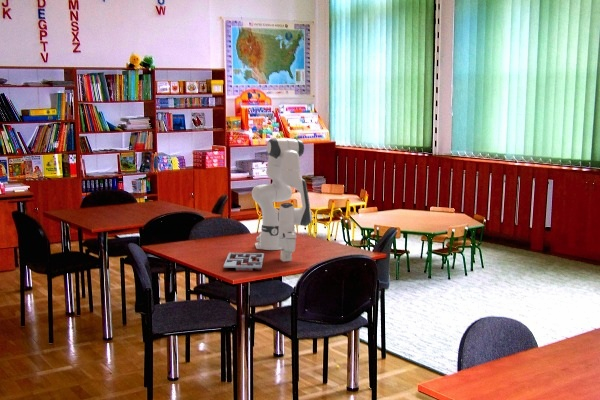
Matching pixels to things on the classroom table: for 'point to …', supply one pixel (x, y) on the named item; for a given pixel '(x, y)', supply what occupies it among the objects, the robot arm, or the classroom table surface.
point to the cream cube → (283, 256)
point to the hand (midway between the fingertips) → (286, 257)
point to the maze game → (244, 261)
